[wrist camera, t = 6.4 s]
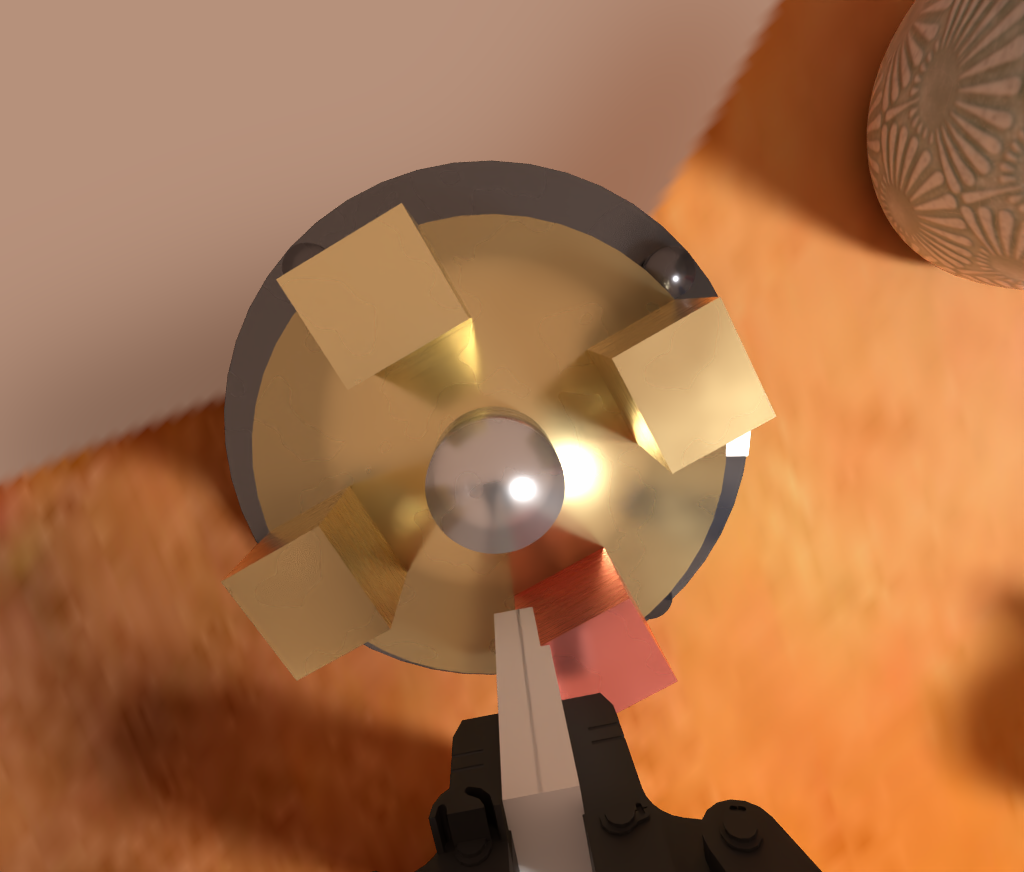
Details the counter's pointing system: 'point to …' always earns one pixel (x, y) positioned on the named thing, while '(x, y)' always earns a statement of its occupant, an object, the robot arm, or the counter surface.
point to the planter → (954, 137)
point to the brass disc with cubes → (468, 386)
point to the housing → (489, 430)
